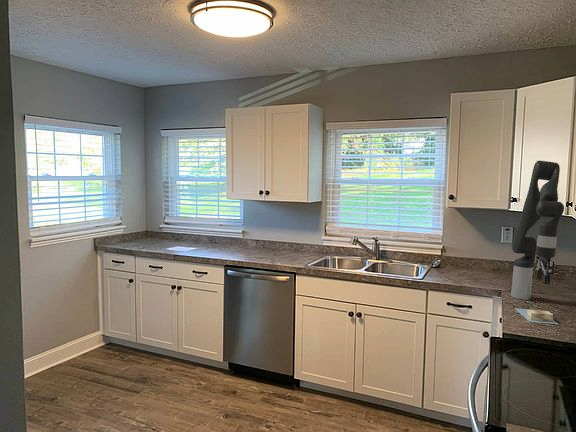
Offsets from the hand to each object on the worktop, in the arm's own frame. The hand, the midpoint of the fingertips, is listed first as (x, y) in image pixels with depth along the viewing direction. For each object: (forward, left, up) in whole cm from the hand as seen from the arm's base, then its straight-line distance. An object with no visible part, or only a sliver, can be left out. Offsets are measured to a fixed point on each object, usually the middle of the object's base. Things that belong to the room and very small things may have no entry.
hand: (542, 281), depth 198 cm
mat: (-5, 0, -18) cm, 18 cm away
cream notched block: (0, 0, -17) cm, 17 cm away
